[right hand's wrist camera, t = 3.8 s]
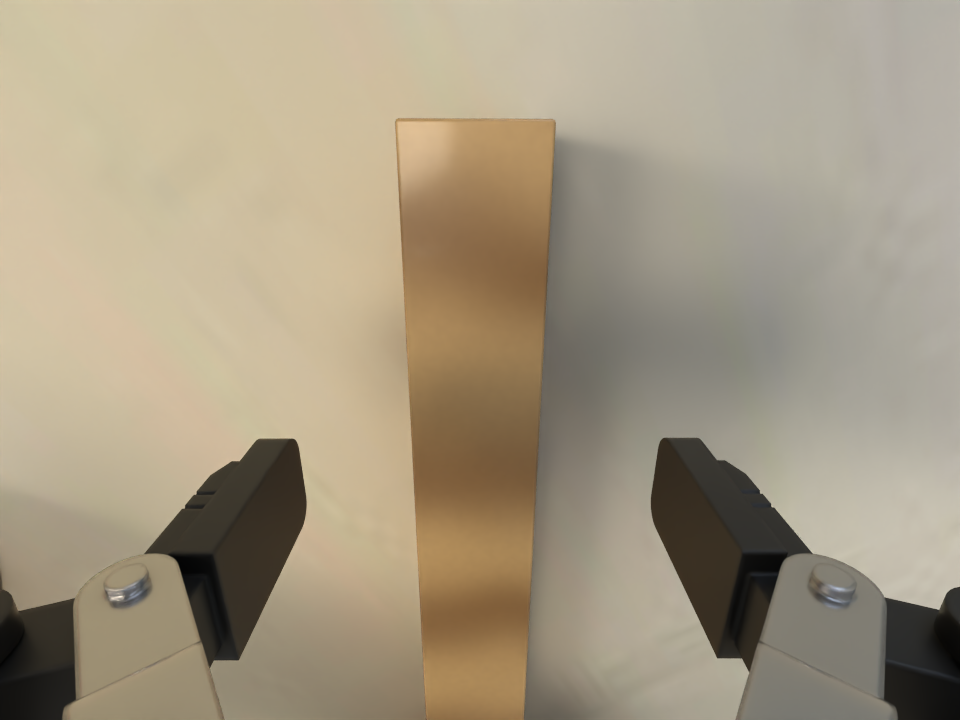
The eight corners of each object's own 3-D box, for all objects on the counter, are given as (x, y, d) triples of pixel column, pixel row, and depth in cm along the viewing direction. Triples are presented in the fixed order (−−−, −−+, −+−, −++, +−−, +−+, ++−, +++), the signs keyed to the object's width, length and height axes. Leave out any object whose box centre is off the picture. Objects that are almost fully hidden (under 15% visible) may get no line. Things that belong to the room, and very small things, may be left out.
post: (425, 131, 22) (394, 118, 14) (528, 131, 22) (556, 119, 14) (447, 835, 41) (440, 998, 33) (503, 835, 41) (509, 998, 33)
